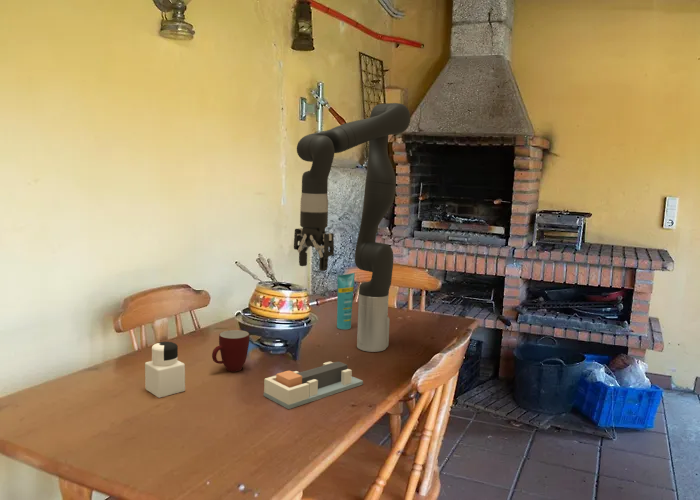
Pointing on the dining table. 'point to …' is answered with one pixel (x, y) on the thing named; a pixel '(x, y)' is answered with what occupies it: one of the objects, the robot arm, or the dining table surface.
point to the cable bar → (313, 375)
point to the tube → (345, 300)
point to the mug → (232, 349)
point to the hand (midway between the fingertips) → (312, 268)
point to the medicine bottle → (164, 370)
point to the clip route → (307, 389)
